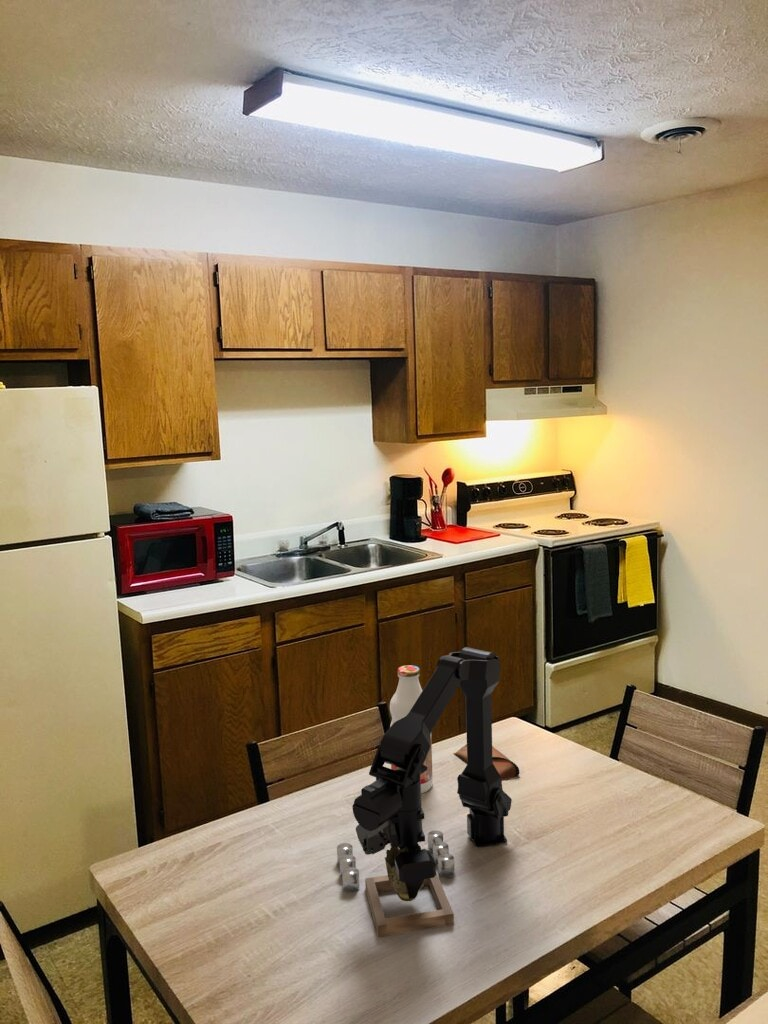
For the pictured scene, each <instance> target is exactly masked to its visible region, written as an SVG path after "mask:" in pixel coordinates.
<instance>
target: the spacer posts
mask: <svg viewBox="0 0 768 1024" xmlns="http://www.w3.org/2000/svg"><path fill="white" fill-rule="evenodd" d="M353 848H354V847H353V845H352V844H351V843H349V842H343V843H340V844H338V845H337V846H336V855H337V856H336V857H337V859H336V860H337V865H339V873H340V874H339V875H340V878H342V889H343V891H344V892H346V893H355V892H357V891H358V890H359V889H360V872H359V869H358V868H357V861H356V857H355V855H354V854H353ZM427 850H428V851H429V852H430V853H431V854H432V857H433V859H434V861H435V864H436V866H438V867H437V870H438V871H437V873H438V876H440V877H441V878H445V879H448V878H449V879H450V878H453V876H454V875H455V856H454V855H453V854H451V853H449V852H450V851H449V844H448V843H447V842H445V841H444V833H443V832H442V831H441V830H431V831H429V832H428V833H427Z"/></svg>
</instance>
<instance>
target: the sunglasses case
mask: <svg viewBox="0 0 768 1024" xmlns="http://www.w3.org/2000/svg"><path fill="white" fill-rule="evenodd" d="M453 755H454V756H456V757H458V758H460V759H461V760H462V761H463V762H465V763H466V764H467V743H466V744H465V745H464V746H462V747H461V748H459V749H458V750H457V751H456V752H453ZM492 757H493V764H494V766H495V768H496V769H497V771H498V773H499V774H500V776H501V781H504V780H508V779H512V778H515V777H517V778H519V775H520V768H519V766H518V765H517V764H516V763H515V762H514V761H512V760H511V759H510V758H508V757H507V756H506V755H504V754H503V753H502V752H501V751H499V750H498V749H496V747H494V746H493V745H492Z"/></svg>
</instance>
